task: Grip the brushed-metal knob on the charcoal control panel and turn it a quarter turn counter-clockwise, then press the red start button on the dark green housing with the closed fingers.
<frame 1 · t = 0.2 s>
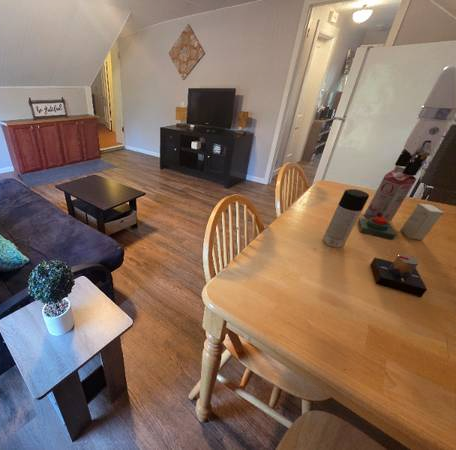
hand: (404, 170, 81), 25 cm above the table, tool pointing down, fingers open, 9 cm apart
juice carton: (376, 218, 105), on the table
start button: (379, 220, 94), point 4 cm above the table, slide at 0.1 cm
spray can: (332, 243, 89), on the table
hob knob: (403, 265, 70), point 6 cm above the table, hinge at 0.0°
cosmetic box: (411, 235, 94), on the table
hob panel: (393, 279, 73), on the table
button box: (374, 230, 96), on the table
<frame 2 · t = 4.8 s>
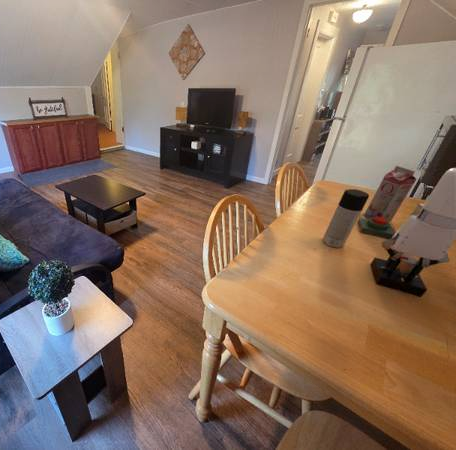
hand: (399, 271, 71), 3 cm above the table, tool pointing down, fingers closed on hob knob, 4 cm apart
hob knob: (403, 265, 70), point 6 cm above the table, hinge at -0.2°, touching gripper
everything else where it was.
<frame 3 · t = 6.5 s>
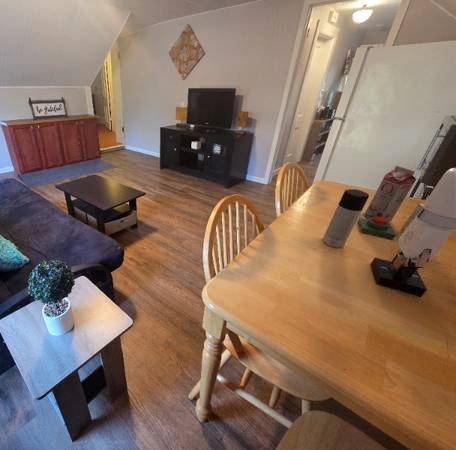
hand: (399, 270, 71), 3 cm above the table, tool pointing down, fingers closed on hob knob, 4 cm apart
hob knob: (403, 265, 70), point 6 cm above the table, hinge at 89.5°, touching gripper
everything else where it was.
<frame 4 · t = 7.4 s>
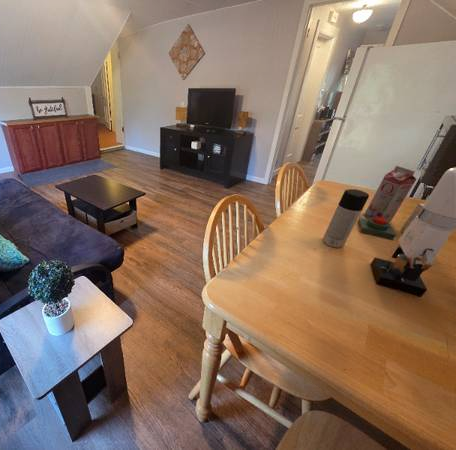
hand: (402, 268, 71), 4 cm above the table, tool pointing down, fingers open, 9 cm apart
hob knob: (403, 265, 70), point 6 cm above the table, hinge at 91.2°
everything else where it was.
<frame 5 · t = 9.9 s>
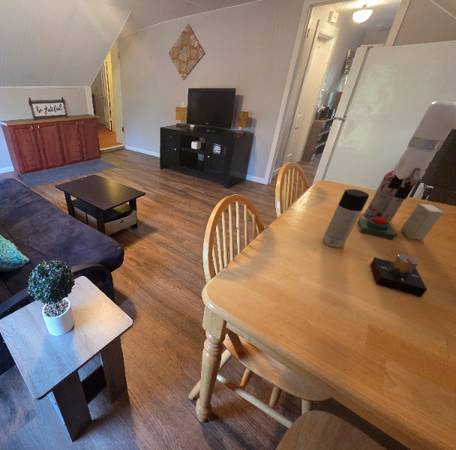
hand: (396, 192, 88), 16 cm above the table, tool pointing down, fingers open, 9 cm apart
nothing on the table moved.
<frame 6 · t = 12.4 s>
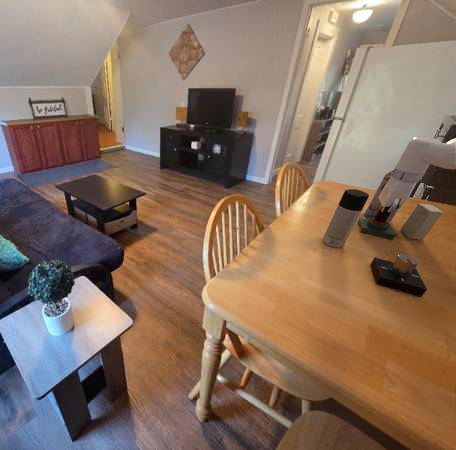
hand: (379, 220, 94), 5 cm above the table, tool pointing down, fingers closed
start button: (378, 222, 94), point 4 cm above the table, slide at -0.8 cm, touching gripper
everything else where it was.
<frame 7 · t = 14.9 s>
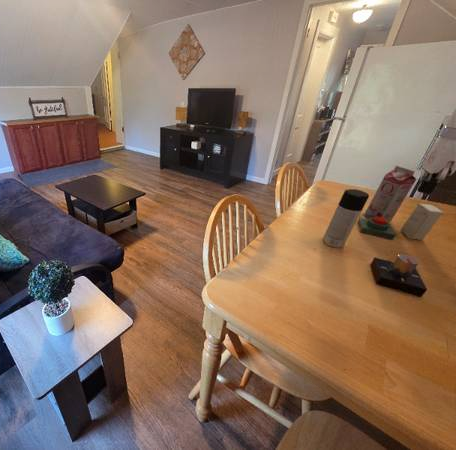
hand: (423, 192, 81), 19 cm above the table, tool pointing down, fingers closed
start button: (379, 220, 94), point 4 cm above the table, slide at 0.1 cm
everything else where it was.
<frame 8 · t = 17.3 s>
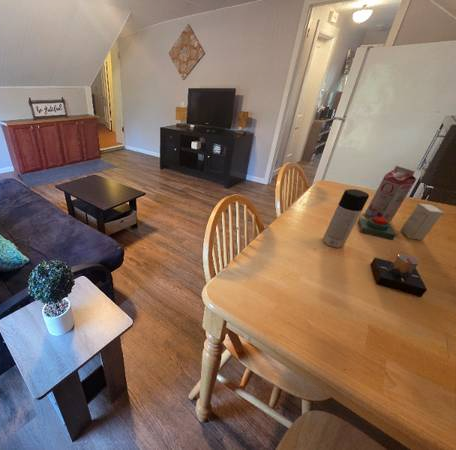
nothing on the table moved.
at the end: hob knob at +91° (first picture: +0°); start button pushed in 1.1 cm at the most during the clip, back to where it started at the end; start button slide at 0.1 cm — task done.
